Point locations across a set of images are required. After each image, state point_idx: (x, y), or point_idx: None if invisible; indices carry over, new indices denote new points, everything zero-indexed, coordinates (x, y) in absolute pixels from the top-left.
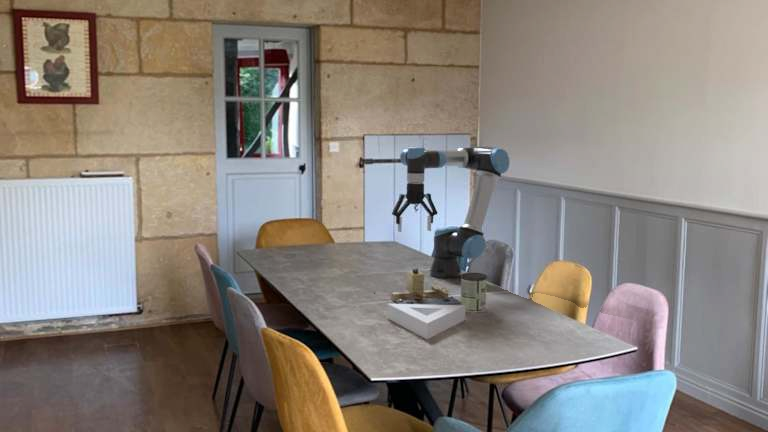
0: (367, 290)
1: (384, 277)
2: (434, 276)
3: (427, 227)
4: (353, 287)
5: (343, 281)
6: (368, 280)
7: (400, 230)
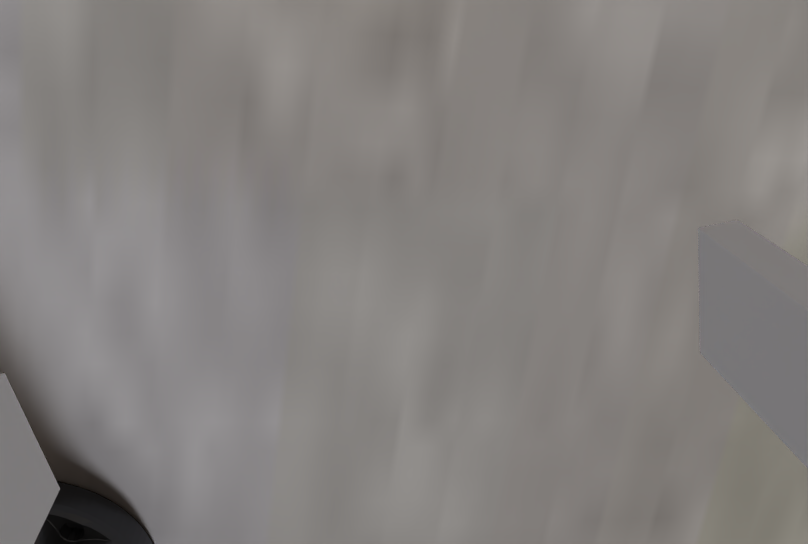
0: (705, 116)
1: (497, 494)
2: (128, 514)
3: (33, 521)
4: (781, 216)
5: None
6: (624, 414)
7: (739, 236)
